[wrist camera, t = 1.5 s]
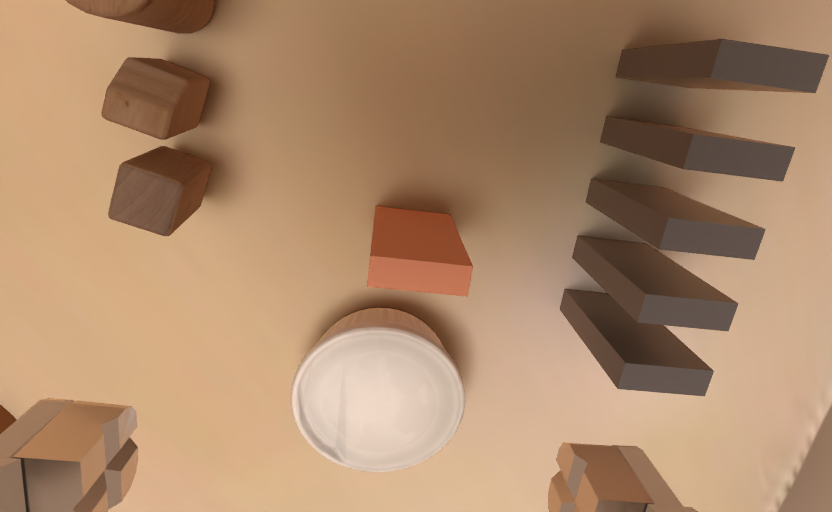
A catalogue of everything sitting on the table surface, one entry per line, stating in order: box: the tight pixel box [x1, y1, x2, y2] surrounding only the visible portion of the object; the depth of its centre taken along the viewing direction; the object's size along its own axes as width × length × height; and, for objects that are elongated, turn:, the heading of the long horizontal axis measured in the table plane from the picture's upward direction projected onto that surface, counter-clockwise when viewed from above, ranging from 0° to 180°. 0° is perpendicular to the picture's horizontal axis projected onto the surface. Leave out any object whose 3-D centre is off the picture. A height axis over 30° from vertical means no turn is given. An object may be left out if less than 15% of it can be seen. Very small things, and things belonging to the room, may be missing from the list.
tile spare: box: [367, 206, 473, 296], centre depth 30 cm, size 2×5×10 cm, turn 83°
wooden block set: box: [66, 0, 214, 236], centre depth 25 cm, size 18×9×10 cm, turn 157°
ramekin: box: [291, 308, 465, 472], centre depth 35 cm, size 11×11×5 cm
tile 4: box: [572, 236, 738, 331], centre depth 31 cm, size 2×5×10 cm, turn 82°
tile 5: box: [560, 289, 714, 396], centre depth 32 cm, size 2×5×10 cm, turn 83°
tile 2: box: [600, 117, 795, 181], centre depth 28 cm, size 2×5×10 cm, turn 82°
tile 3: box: [586, 179, 765, 260], centre depth 30 cm, size 2×5×10 cm, turn 83°
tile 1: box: [616, 39, 829, 93], centre depth 27 cm, size 2×5×10 cm, turn 83°
